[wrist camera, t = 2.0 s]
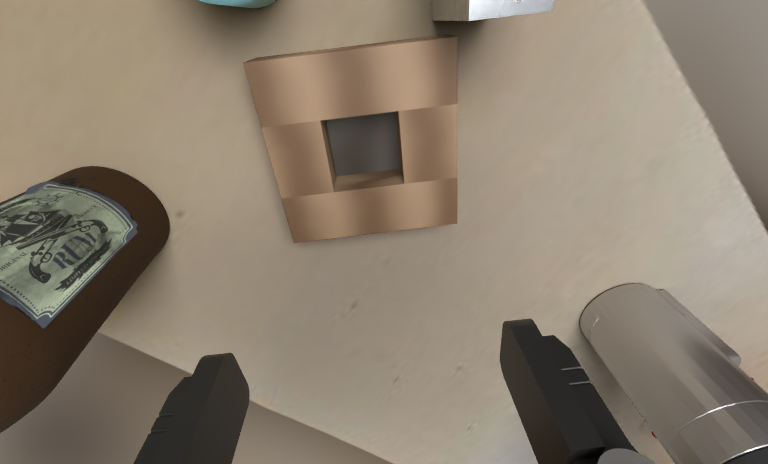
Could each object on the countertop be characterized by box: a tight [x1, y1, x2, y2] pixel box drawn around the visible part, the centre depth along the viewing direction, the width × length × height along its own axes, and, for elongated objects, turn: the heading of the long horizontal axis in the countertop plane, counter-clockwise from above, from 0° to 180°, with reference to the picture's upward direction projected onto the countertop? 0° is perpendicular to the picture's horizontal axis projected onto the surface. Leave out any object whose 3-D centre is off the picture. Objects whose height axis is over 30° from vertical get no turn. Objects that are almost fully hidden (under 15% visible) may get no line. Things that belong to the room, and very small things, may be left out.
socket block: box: [243, 35, 458, 243], centre depth 28 cm, size 14×14×4 cm
